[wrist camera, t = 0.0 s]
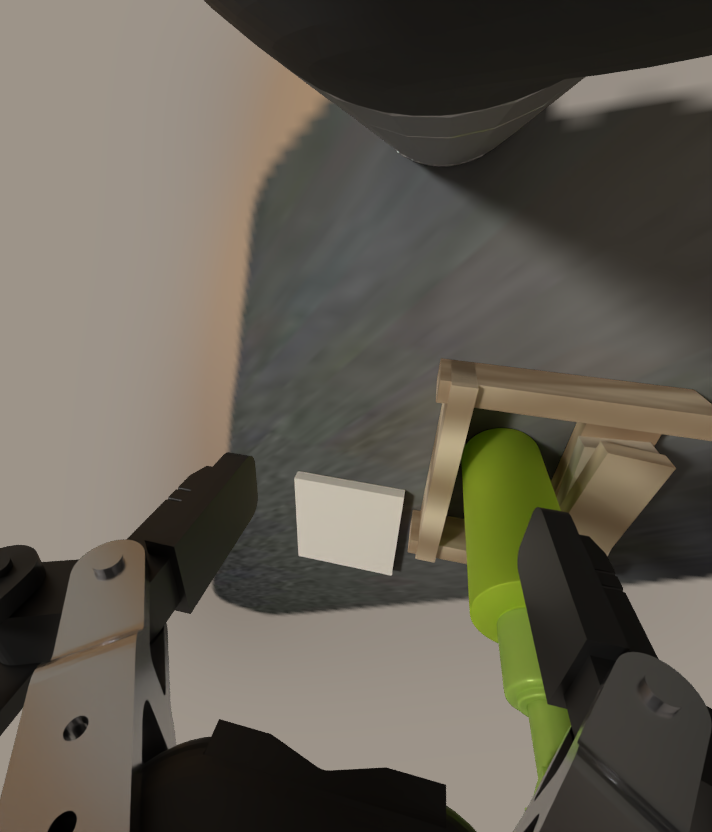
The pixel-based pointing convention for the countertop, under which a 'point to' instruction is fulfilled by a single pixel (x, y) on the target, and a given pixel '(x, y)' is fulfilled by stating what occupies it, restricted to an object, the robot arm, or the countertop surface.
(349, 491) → the cream tile
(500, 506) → the soap dispenser
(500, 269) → the countertop surface
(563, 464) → the offcut stack
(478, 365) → the pine rack
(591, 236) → the countertop surface
